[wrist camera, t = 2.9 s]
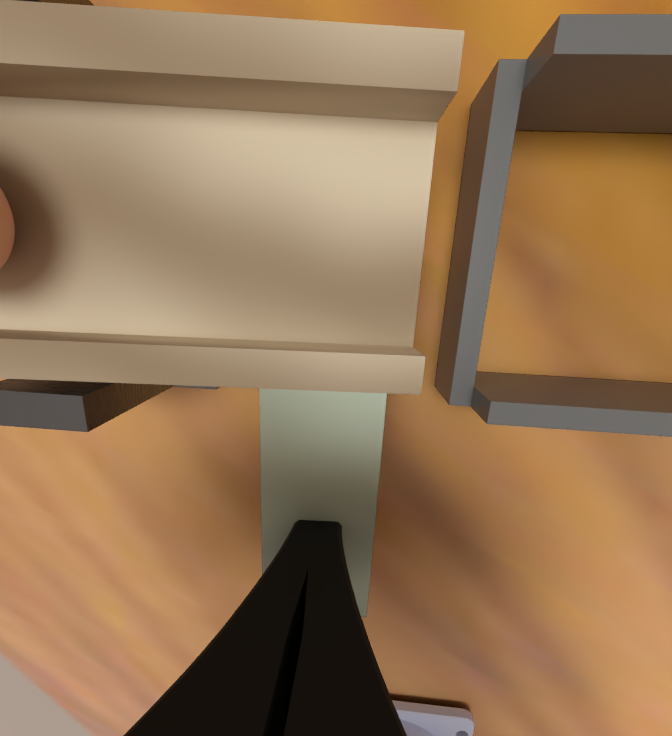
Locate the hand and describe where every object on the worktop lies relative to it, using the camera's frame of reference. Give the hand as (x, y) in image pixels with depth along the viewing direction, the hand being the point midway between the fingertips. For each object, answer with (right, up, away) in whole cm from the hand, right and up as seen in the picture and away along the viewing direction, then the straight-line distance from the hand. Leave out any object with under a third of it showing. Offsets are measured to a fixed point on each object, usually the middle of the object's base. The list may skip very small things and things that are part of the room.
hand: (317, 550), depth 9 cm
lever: (-6, +5, 0) cm, 7 cm away
